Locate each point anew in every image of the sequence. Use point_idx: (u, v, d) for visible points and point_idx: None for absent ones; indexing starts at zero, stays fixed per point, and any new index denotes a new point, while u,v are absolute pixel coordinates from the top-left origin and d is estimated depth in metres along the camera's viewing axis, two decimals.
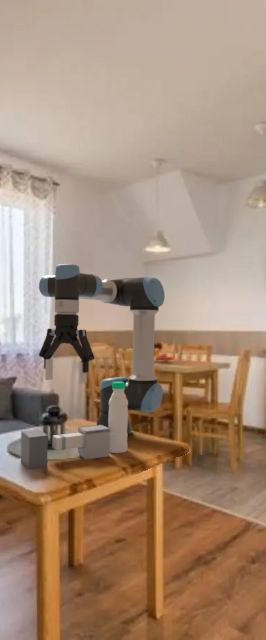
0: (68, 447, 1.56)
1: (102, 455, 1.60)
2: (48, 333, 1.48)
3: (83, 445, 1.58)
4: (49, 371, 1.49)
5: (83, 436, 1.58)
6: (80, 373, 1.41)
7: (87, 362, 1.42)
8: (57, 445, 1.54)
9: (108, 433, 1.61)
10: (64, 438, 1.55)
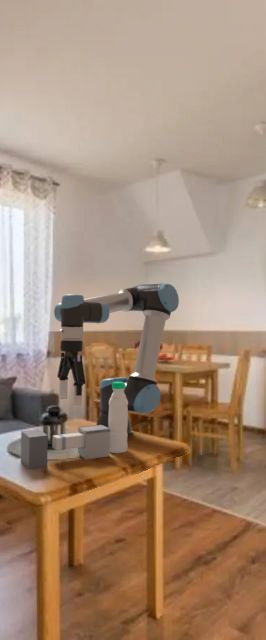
0: (68, 447, 1.56)
1: (102, 455, 1.60)
2: (61, 357, 1.64)
3: (83, 445, 1.58)
4: (62, 391, 1.64)
5: (83, 436, 1.58)
6: None
7: (79, 386, 1.51)
8: (57, 445, 1.54)
9: (108, 433, 1.61)
10: (64, 438, 1.55)
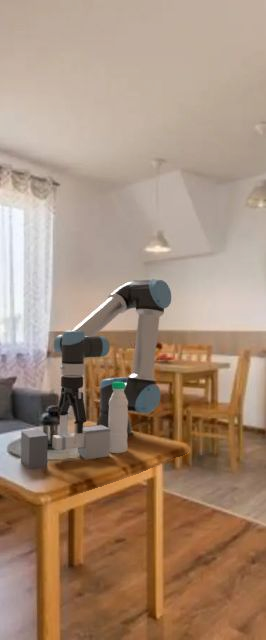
0: (68, 447, 1.56)
1: (102, 455, 1.60)
2: (61, 392, 1.63)
3: (83, 445, 1.58)
4: (62, 426, 1.63)
5: (83, 436, 1.58)
6: (74, 433, 1.51)
7: (80, 424, 1.51)
8: (57, 445, 1.54)
9: (108, 433, 1.61)
10: (64, 438, 1.55)
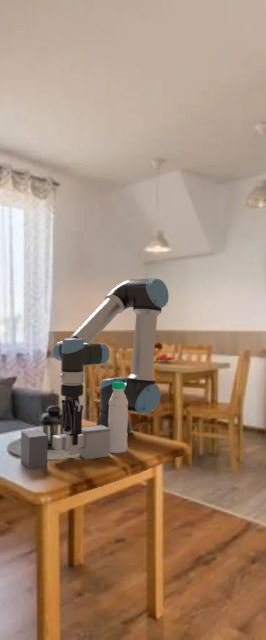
0: (68, 447, 1.56)
1: (102, 455, 1.60)
2: (62, 404, 1.62)
3: (83, 445, 1.58)
4: None
5: (83, 436, 1.58)
6: (70, 445, 1.55)
7: (75, 436, 1.55)
8: (57, 445, 1.54)
9: (108, 433, 1.61)
10: (64, 438, 1.55)
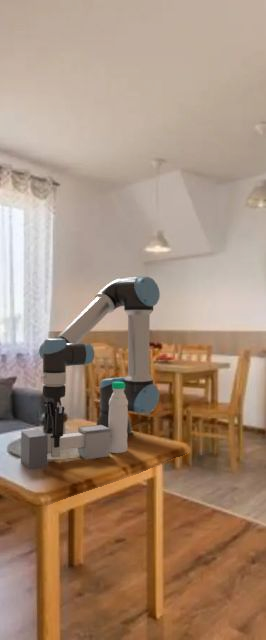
0: (50, 449, 1.52)
1: (102, 455, 1.60)
2: (44, 405, 1.59)
3: (65, 447, 1.55)
4: None
5: (65, 438, 1.55)
6: (51, 447, 1.52)
7: (57, 438, 1.52)
8: None
9: (108, 433, 1.61)
10: None
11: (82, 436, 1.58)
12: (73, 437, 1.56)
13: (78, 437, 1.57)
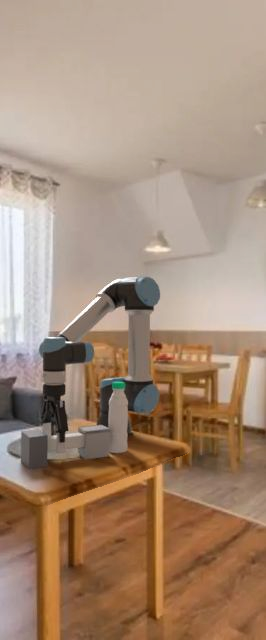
0: (49, 449, 1.52)
1: (102, 455, 1.60)
2: (44, 399, 1.60)
3: (65, 447, 1.55)
4: None
5: (65, 438, 1.55)
6: None
7: (62, 433, 1.48)
8: None
9: (108, 433, 1.61)
10: None
11: (82, 436, 1.58)
12: (73, 437, 1.56)
13: (78, 437, 1.57)
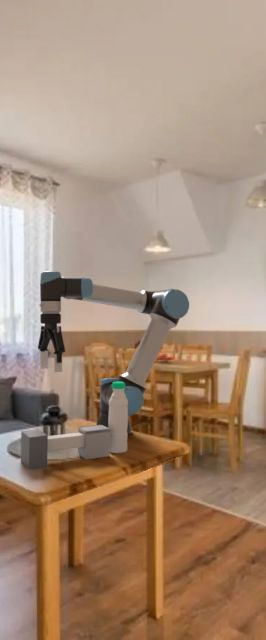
0: (49, 449, 1.52)
1: (102, 455, 1.60)
2: (41, 329, 1.77)
3: (65, 447, 1.55)
4: (43, 361, 1.78)
5: (65, 438, 1.55)
6: (54, 363, 1.66)
7: (59, 354, 1.65)
8: None
9: (108, 433, 1.61)
10: None
11: (82, 436, 1.58)
12: (73, 437, 1.56)
13: (78, 437, 1.57)
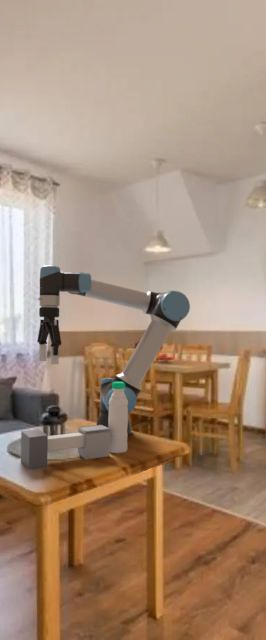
0: (49, 449, 1.52)
1: (102, 455, 1.60)
2: (40, 323, 1.82)
3: (65, 447, 1.55)
4: (42, 354, 1.82)
5: (65, 438, 1.55)
6: (51, 356, 1.70)
7: (56, 347, 1.69)
8: None
9: (108, 433, 1.61)
10: None
11: (82, 436, 1.58)
12: (73, 437, 1.56)
13: (78, 437, 1.57)
